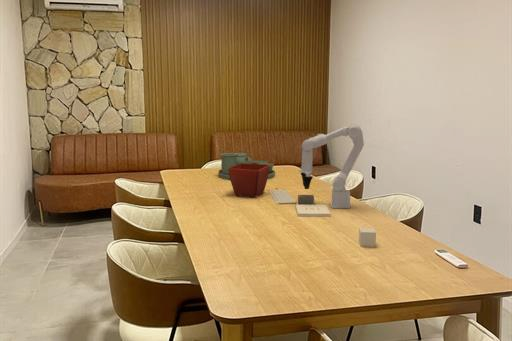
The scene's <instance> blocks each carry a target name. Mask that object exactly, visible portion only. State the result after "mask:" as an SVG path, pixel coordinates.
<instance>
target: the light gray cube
mask: <svg viewBox="0 0 512 341" xmlns="http://www.w3.org/2000/svg"><path fill="white" fill-rule="evenodd" d="M358 230H359V231H358V244H359V246H360V247H372V248H373V247H375V248H376V245H377V243H376V241H377V231H376V229H375V228H373V227H359V228H358Z"/></svg>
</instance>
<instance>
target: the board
mask: <svg viewBox="0 0 512 341" xmlns="http://www.w3.org/2000/svg"><path fill="white" fill-rule="evenodd" d="M294 205H295V211H296V214H297V217H302V218H303V217H306V218H307V217H308V218H309V217H312V218H313V217H316V218H318V217H321V218H322V217H326V218H327V217H328V218H329V217H331V215H332V214H331V211H330V210H329V208H328V206H327V204H314V205H298V204H294Z"/></svg>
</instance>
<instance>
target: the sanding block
mask: <svg viewBox="0 0 512 341" xmlns="http://www.w3.org/2000/svg"><path fill="white" fill-rule="evenodd" d="M297 205H315V196H314V194H298V195H297Z"/></svg>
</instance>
